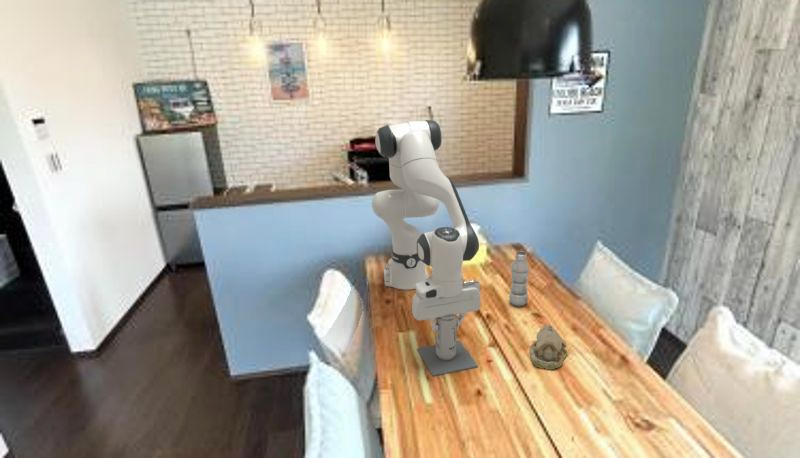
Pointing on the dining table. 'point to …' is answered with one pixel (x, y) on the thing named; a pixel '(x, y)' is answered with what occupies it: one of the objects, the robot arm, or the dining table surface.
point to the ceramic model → (548, 349)
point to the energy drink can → (446, 337)
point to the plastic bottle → (519, 280)
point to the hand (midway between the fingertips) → (446, 327)
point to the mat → (447, 366)
